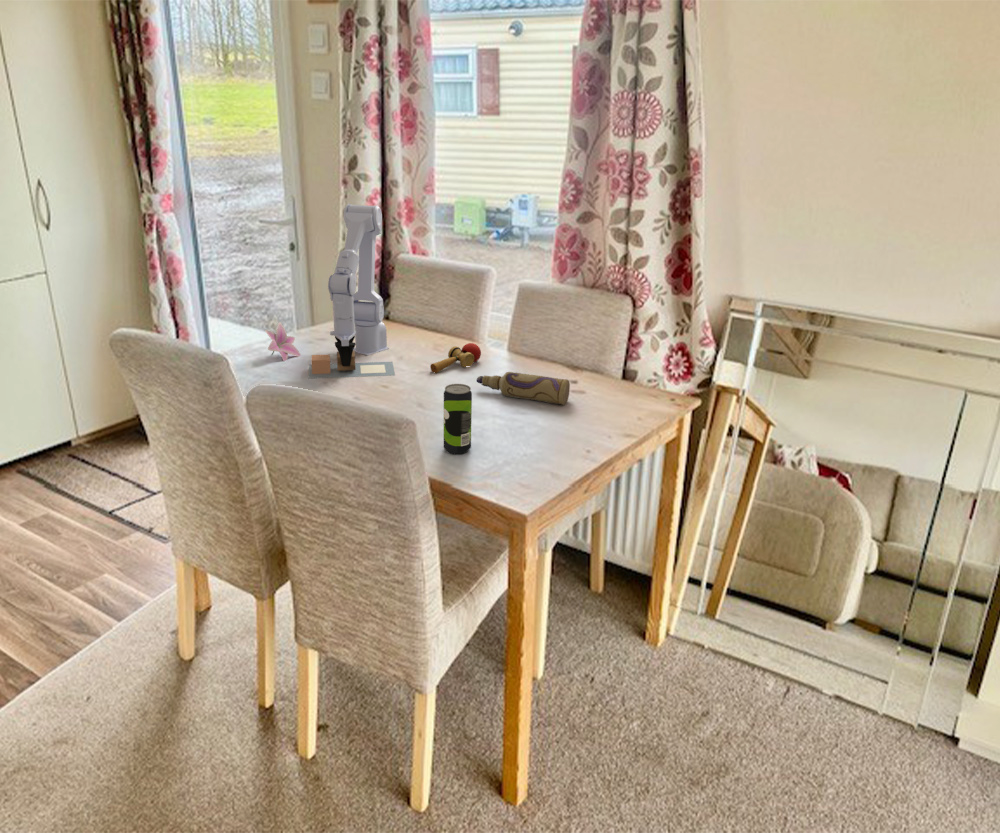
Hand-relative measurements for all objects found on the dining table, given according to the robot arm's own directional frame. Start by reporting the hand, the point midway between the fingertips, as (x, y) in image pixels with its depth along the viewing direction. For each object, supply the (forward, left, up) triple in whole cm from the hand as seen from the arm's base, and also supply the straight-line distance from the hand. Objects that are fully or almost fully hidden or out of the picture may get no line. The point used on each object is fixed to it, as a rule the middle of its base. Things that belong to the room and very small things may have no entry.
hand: (346, 362), depth 223 cm
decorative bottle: (-18, +50, -3) cm, 53 cm away
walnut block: (0, 0, -1) cm, 1 cm away
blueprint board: (-1, +1, -3) cm, 3 cm away
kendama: (-24, +21, -3) cm, 32 cm away
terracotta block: (+5, -5, -2) cm, 7 cm away
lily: (+5, -23, -3) cm, 23 cm away
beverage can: (+20, +58, -3) cm, 61 cm away
